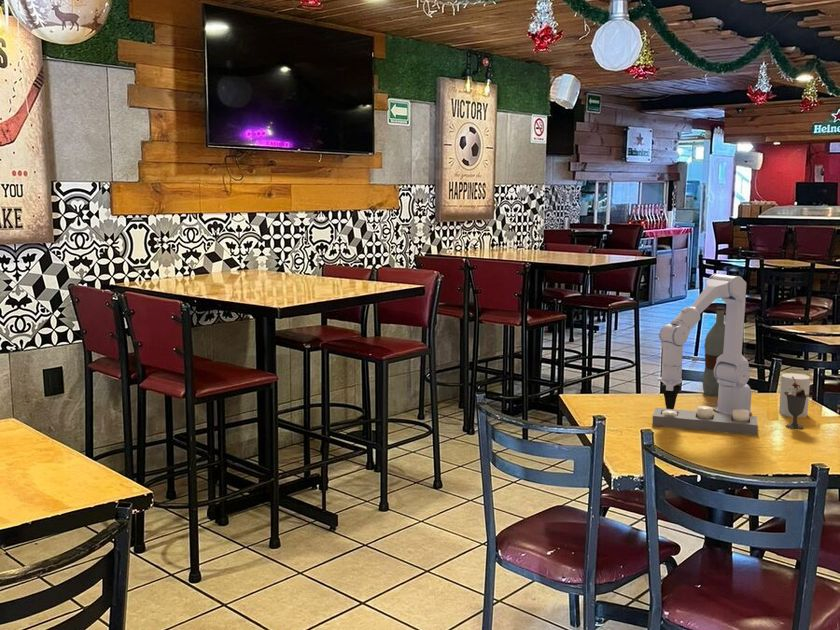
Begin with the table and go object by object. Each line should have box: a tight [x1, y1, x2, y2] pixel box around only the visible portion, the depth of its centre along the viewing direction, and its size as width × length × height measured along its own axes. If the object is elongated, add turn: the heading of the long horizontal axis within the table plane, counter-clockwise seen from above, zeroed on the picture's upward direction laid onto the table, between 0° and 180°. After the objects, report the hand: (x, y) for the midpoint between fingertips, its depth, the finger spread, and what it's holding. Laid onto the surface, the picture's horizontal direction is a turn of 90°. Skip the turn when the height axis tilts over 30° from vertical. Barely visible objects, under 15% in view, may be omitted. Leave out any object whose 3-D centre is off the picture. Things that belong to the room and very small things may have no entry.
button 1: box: [662, 410, 677, 416], centre depth 251 cm, size 4×4×3 cm
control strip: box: [652, 407, 759, 436], centre depth 247 cm, size 10×29×3 cm, turn 70°
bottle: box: [702, 306, 726, 397], centre depth 284 cm, size 9×9×30 cm
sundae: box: [784, 377, 810, 430], centre depth 245 cm, size 7×7×15 cm
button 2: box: [733, 409, 750, 422], centre depth 243 cm, size 4×4×3 cm
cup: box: [778, 372, 811, 418], centre depth 260 cm, size 8×8×12 cm
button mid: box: [696, 405, 714, 419], centre depth 247 cm, size 4×4×3 cm
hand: (670, 408), depth 250 cm, fingers closed
